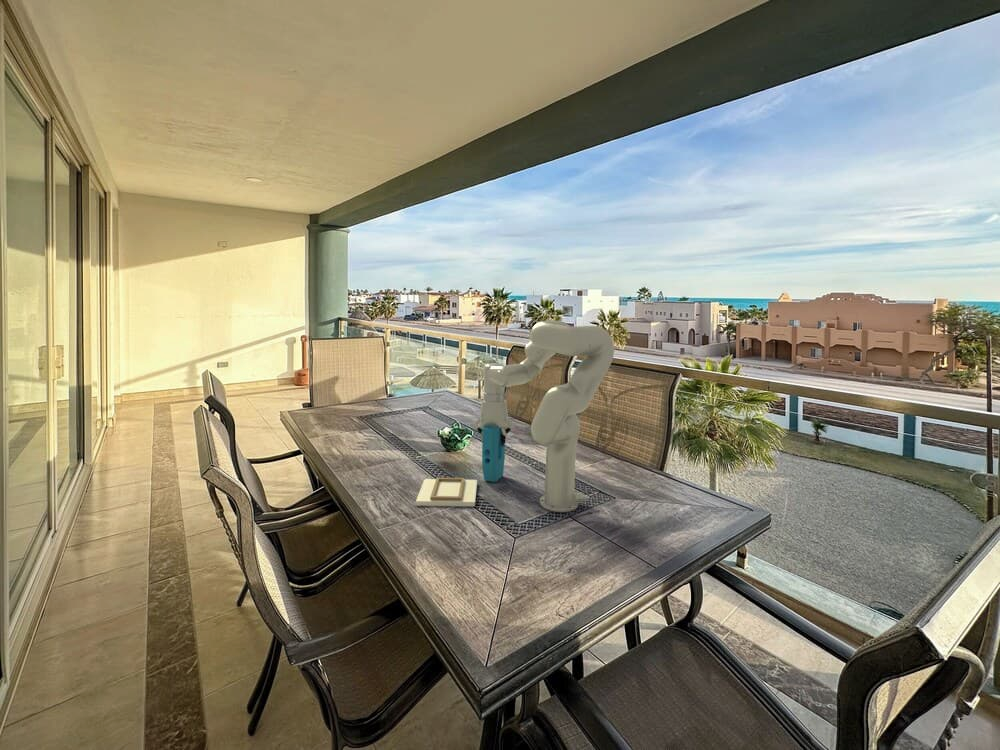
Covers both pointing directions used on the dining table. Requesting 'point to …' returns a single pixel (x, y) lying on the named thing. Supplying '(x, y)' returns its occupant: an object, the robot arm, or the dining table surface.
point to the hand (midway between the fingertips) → (493, 444)
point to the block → (492, 453)
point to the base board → (447, 492)
